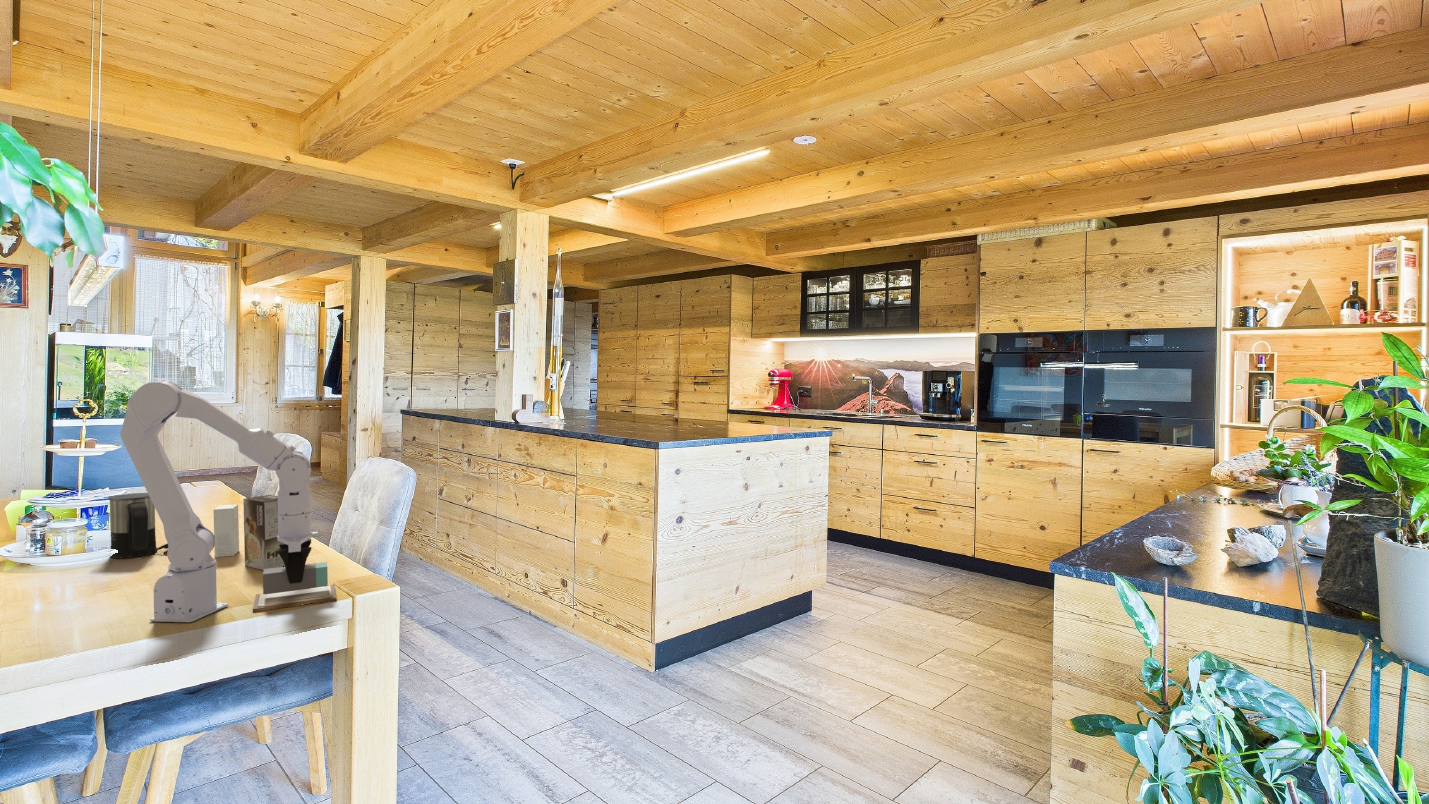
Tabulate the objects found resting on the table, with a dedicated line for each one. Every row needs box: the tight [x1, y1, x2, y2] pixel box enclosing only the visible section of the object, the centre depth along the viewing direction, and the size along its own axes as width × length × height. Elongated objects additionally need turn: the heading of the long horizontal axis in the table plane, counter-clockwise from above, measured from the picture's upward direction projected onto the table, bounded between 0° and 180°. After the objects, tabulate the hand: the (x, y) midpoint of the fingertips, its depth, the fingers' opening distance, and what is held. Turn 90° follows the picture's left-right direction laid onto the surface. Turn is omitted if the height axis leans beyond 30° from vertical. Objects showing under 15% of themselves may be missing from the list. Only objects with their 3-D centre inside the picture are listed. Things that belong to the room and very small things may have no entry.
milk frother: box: [107, 492, 168, 559], centre depth 174 cm, size 14×16×15 cm
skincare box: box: [213, 503, 240, 558], centre depth 173 cm, size 6×4×12 cm
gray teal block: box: [262, 561, 329, 594], centre depth 140 cm, size 11×4×4 cm, turn 121°
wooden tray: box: [252, 584, 337, 613], centre depth 140 cm, size 14×10×1 cm
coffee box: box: [242, 494, 285, 571], centre depth 164 cm, size 9×6×16 cm
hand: (295, 579), depth 140 cm, fingers closed on gray teal block, 4 cm apart
